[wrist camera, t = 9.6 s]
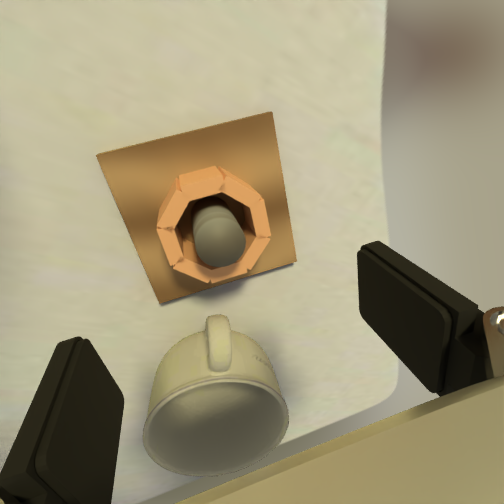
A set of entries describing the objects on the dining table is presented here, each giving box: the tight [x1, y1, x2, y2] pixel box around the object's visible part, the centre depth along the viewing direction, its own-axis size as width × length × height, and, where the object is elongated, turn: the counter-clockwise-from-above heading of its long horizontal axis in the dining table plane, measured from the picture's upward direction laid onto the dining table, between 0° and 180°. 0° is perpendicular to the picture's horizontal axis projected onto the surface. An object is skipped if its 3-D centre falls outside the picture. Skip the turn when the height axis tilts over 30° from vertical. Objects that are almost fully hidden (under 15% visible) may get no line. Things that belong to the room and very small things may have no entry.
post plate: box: [96, 112, 297, 304], centre depth 21 cm, size 12×12×6 cm
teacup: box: [143, 315, 289, 476], centre depth 26 cm, size 14×11×8 cm
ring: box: [157, 166, 271, 283], centre depth 22 cm, size 7×7×4 cm
